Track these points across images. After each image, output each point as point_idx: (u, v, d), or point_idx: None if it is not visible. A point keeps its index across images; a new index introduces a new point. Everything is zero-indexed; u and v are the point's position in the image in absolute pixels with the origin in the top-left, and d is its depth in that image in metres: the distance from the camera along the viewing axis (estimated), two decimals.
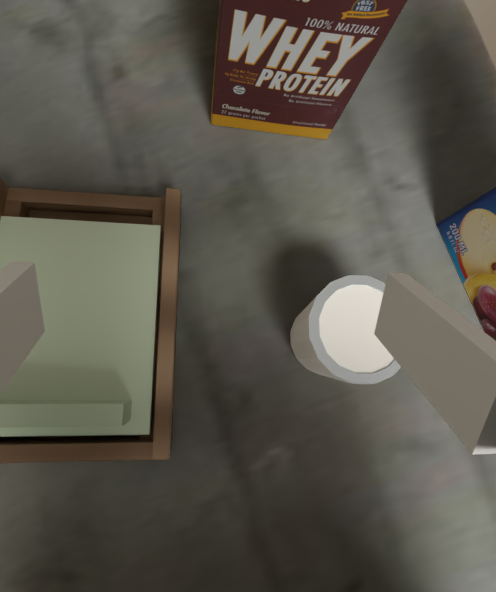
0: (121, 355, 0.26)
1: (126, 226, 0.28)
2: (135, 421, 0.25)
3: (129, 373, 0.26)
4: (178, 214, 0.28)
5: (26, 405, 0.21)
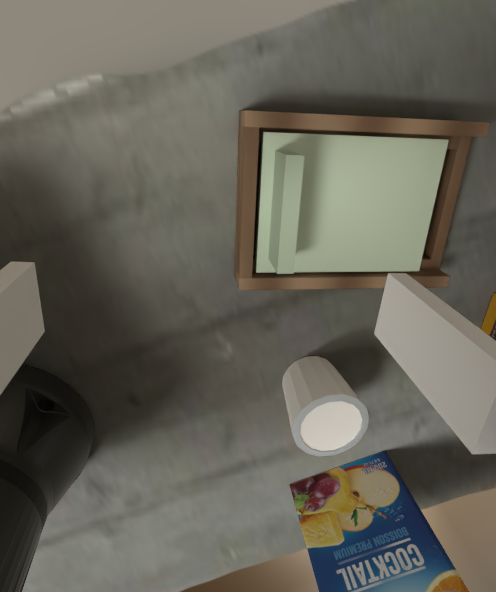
0: (318, 248, 0.32)
1: (422, 245, 0.33)
2: (266, 261, 0.32)
3: (303, 254, 0.32)
4: (426, 286, 0.34)
5: (299, 202, 0.27)
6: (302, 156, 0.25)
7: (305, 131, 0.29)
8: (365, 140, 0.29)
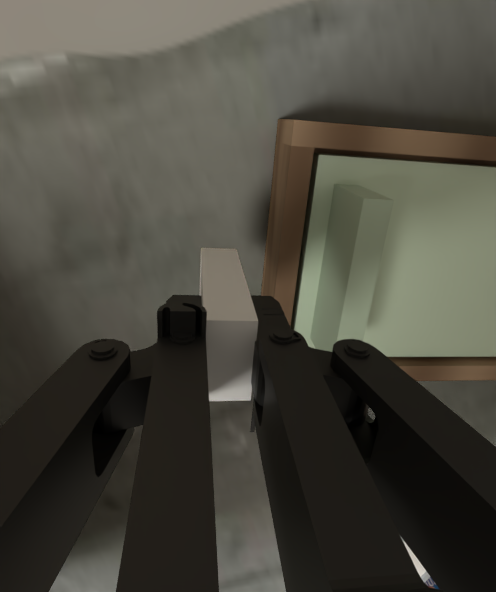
0: (384, 324, 0.22)
1: None
2: (307, 342, 0.21)
3: None
4: None
5: (375, 273, 0.16)
6: (390, 201, 0.15)
7: (380, 154, 0.19)
8: (473, 172, 0.19)
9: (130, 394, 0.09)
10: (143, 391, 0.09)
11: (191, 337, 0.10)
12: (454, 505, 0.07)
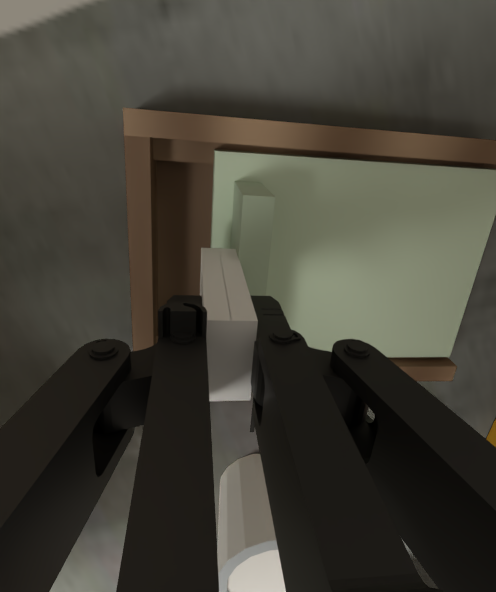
0: (301, 325, 0.21)
1: (457, 321, 0.22)
2: None
3: None
4: (422, 380, 0.23)
5: (266, 272, 0.16)
6: (271, 198, 0.15)
7: (236, 146, 0.18)
8: (379, 168, 0.18)
9: (131, 394, 0.09)
10: (143, 391, 0.09)
11: (192, 337, 0.10)
12: (454, 505, 0.07)
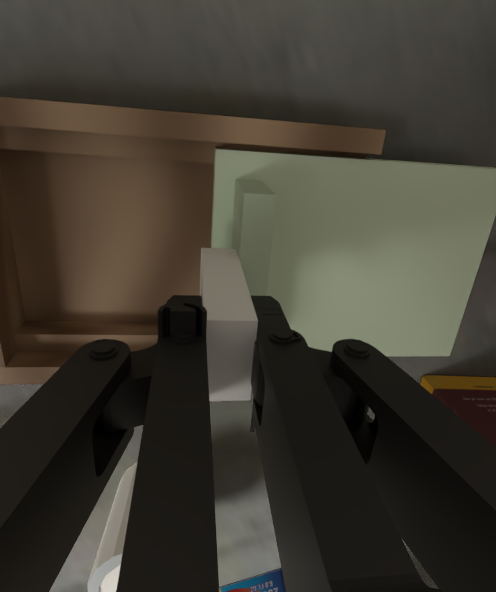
0: (302, 324, 0.21)
1: (457, 321, 0.22)
2: None
3: None
4: None
5: (266, 271, 0.16)
6: (273, 196, 0.15)
7: (70, 132, 0.17)
8: (380, 167, 0.18)
9: (131, 394, 0.09)
10: (143, 391, 0.09)
11: (192, 337, 0.10)
12: (454, 505, 0.07)
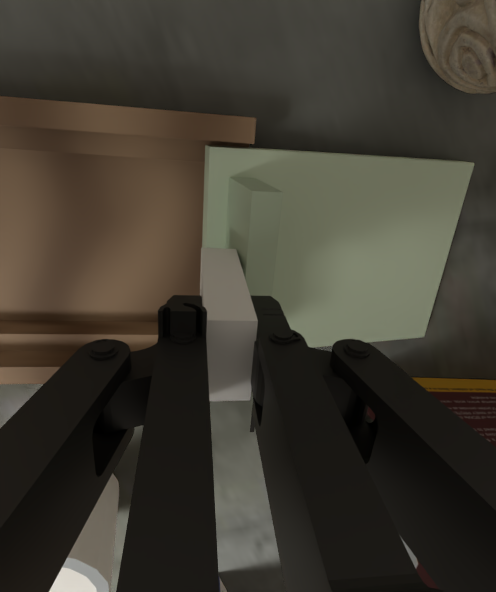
0: (293, 317, 0.22)
1: (430, 304, 0.24)
2: None
3: None
4: None
5: (273, 268, 0.16)
6: (279, 193, 0.15)
7: None
8: (364, 162, 0.19)
9: (130, 394, 0.09)
10: (143, 391, 0.10)
11: (191, 337, 0.10)
12: (454, 505, 0.07)
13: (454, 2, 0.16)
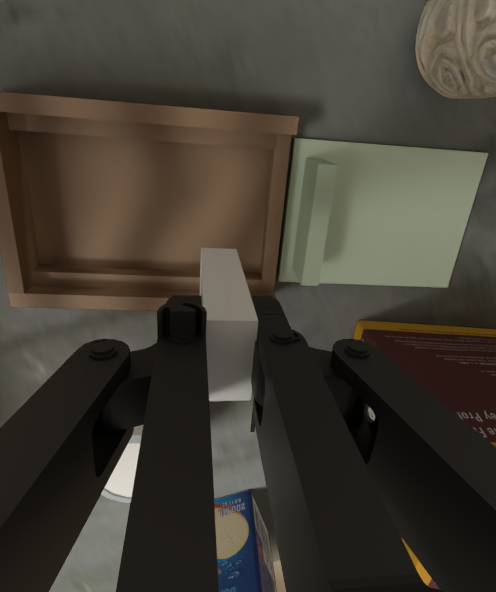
0: (344, 259, 0.31)
1: (453, 260, 0.32)
2: (290, 271, 0.31)
3: (328, 265, 0.31)
4: None
5: (328, 213, 0.26)
6: (335, 166, 0.24)
7: (71, 119, 0.24)
8: (400, 150, 0.28)
9: (130, 394, 0.09)
10: (143, 391, 0.10)
11: (191, 337, 0.10)
12: (454, 505, 0.07)
13: (438, 36, 0.23)
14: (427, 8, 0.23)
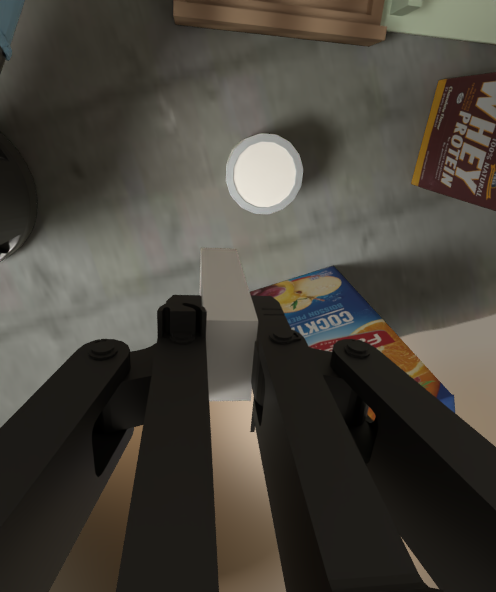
0: (432, 9, 0.37)
1: None
2: (387, 18, 0.37)
3: (419, 15, 0.37)
4: (364, 36, 0.34)
5: None
6: None
7: None
8: None
9: (130, 394, 0.09)
10: (142, 391, 0.10)
11: (191, 337, 0.10)
12: (454, 505, 0.07)
13: None
14: None
